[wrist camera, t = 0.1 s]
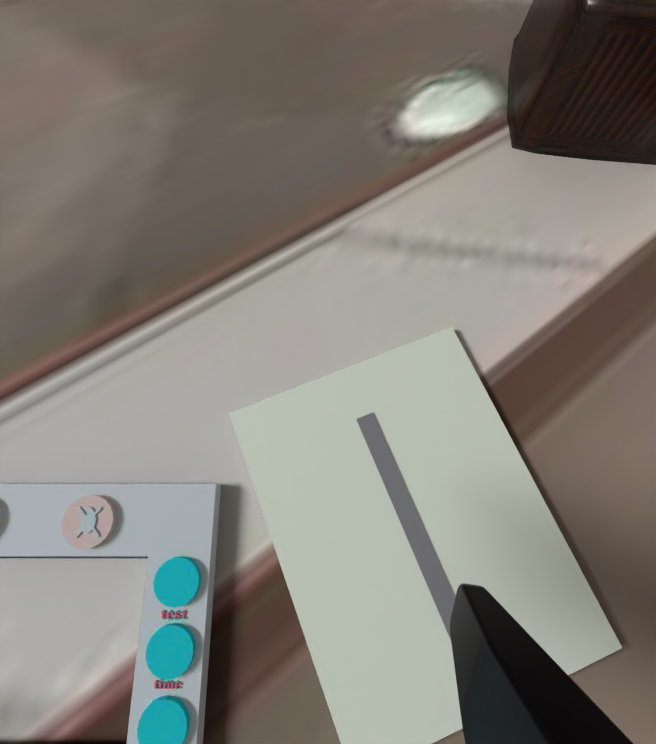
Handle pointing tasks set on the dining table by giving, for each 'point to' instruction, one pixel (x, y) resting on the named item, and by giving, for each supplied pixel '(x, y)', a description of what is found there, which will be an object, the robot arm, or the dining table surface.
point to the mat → (408, 534)
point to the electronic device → (162, 584)
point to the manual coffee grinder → (585, 80)
